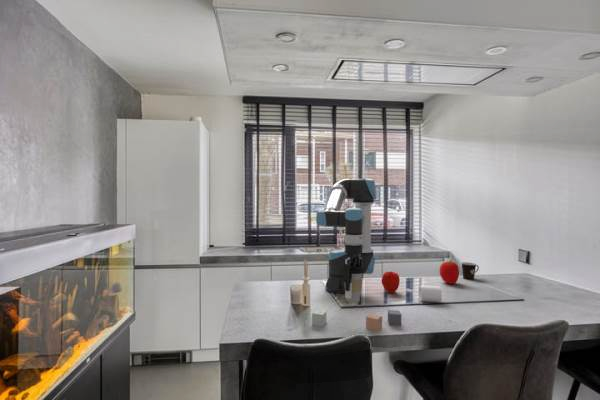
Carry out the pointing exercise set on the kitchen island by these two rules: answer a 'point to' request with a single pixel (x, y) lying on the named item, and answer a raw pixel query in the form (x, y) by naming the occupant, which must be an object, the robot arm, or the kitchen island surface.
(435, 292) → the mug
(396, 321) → the charcoal cube
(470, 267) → the coffee mug
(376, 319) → the terracotta cube
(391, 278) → the red rounded piece
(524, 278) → the kitchen island surface
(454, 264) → the red strawberry
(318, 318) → the sage cube
